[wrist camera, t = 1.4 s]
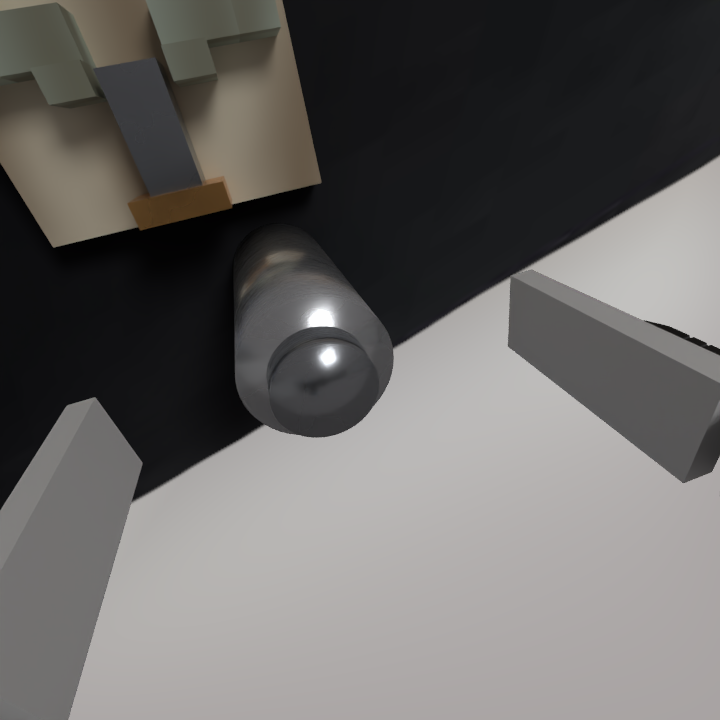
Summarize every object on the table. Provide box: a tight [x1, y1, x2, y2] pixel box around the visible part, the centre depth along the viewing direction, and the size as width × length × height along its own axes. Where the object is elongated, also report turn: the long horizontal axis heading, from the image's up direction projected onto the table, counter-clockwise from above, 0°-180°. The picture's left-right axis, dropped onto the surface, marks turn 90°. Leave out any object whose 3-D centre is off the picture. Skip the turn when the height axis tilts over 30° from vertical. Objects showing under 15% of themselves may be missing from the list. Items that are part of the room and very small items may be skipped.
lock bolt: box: [93, 57, 232, 230], centre depth 15 cm, size 4×5×2 cm
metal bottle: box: [233, 223, 393, 437], centre depth 16 cm, size 5×5×12 cm
